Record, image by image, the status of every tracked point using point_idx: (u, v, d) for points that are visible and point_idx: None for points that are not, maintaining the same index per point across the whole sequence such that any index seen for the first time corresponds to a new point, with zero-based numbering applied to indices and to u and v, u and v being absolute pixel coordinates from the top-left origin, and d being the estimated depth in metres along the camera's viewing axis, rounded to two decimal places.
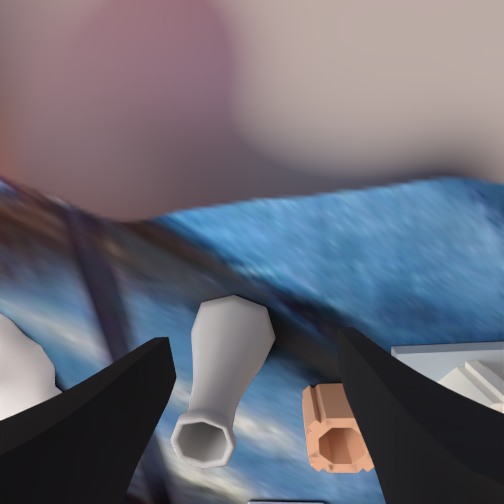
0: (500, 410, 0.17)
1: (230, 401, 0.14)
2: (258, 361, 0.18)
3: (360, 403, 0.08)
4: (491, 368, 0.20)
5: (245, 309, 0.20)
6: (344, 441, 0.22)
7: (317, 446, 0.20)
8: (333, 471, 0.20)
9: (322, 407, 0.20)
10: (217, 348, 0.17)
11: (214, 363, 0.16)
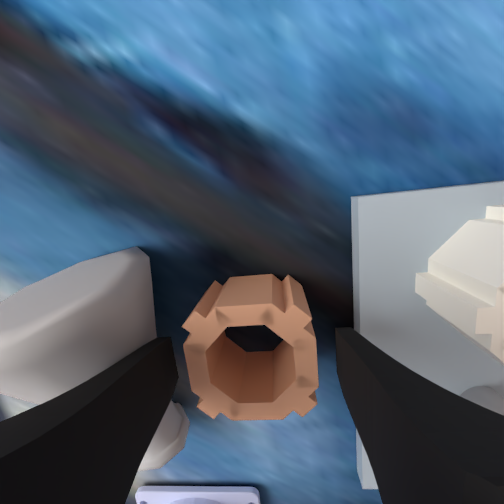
0: None
1: (165, 417, 0.13)
2: (154, 333, 0.12)
3: (357, 403, 0.08)
4: None
5: (76, 344, 0.08)
6: (271, 371, 0.12)
7: (205, 367, 0.10)
8: (240, 419, 0.11)
9: (219, 298, 0.11)
10: None
11: None
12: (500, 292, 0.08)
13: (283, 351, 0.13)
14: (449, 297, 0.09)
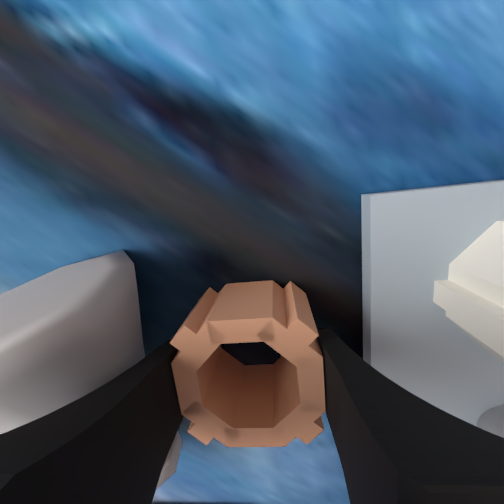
0: None
1: None
2: (141, 347, 0.10)
3: (331, 403, 0.08)
4: None
5: (43, 369, 0.07)
6: (271, 388, 0.11)
7: (196, 389, 0.09)
8: (237, 445, 0.10)
9: (212, 309, 0.10)
10: None
11: None
12: None
13: (285, 366, 0.11)
14: (478, 311, 0.08)
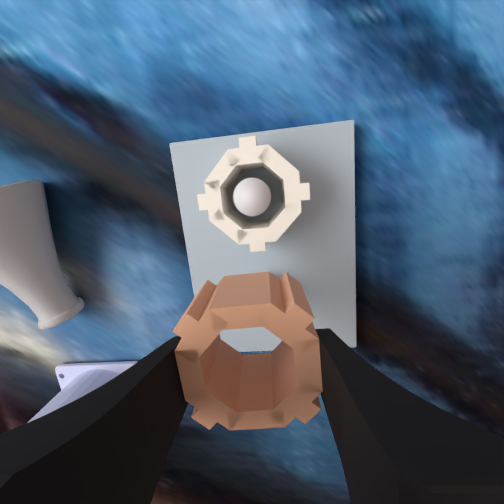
0: (237, 158, 0.14)
1: (59, 294, 0.19)
2: (47, 233, 0.18)
3: (331, 403, 0.08)
4: None
5: None
6: (270, 375, 0.12)
7: (199, 375, 0.09)
8: (239, 428, 0.10)
9: (212, 298, 0.10)
10: (4, 272, 0.17)
11: (19, 284, 0.17)
12: (206, 184, 0.14)
13: (282, 353, 0.12)
14: None
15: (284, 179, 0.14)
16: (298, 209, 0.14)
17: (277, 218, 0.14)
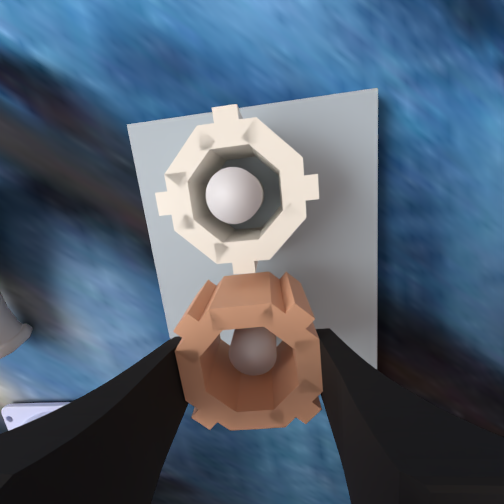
0: (211, 139, 0.09)
1: None
2: None
3: (331, 404, 0.08)
4: None
5: None
6: (270, 375, 0.12)
7: (199, 375, 0.09)
8: (239, 429, 0.10)
9: (213, 298, 0.10)
10: None
11: None
12: (168, 178, 0.10)
13: (282, 353, 0.12)
14: None
15: (281, 169, 0.09)
16: (302, 213, 0.10)
17: (271, 226, 0.10)
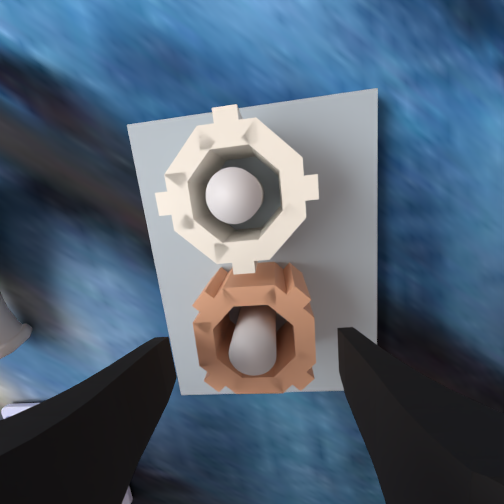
0: (211, 140, 0.09)
1: None
2: None
3: (360, 403, 0.08)
4: None
5: None
6: None
7: (212, 344, 0.11)
8: (243, 393, 0.12)
9: (225, 281, 0.12)
10: None
11: None
12: (167, 178, 0.10)
13: (283, 333, 0.14)
14: None
15: (281, 169, 0.09)
16: (301, 213, 0.10)
17: (271, 226, 0.10)
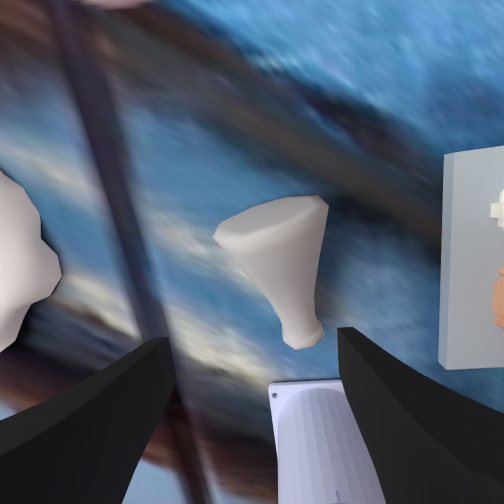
0: None
1: (313, 312, 0.18)
2: None
3: (360, 403, 0.08)
4: None
5: (308, 234, 0.14)
6: None
7: None
8: None
9: None
10: (293, 292, 0.16)
11: (296, 304, 0.17)
12: None
13: None
14: None
15: None
16: None
17: None
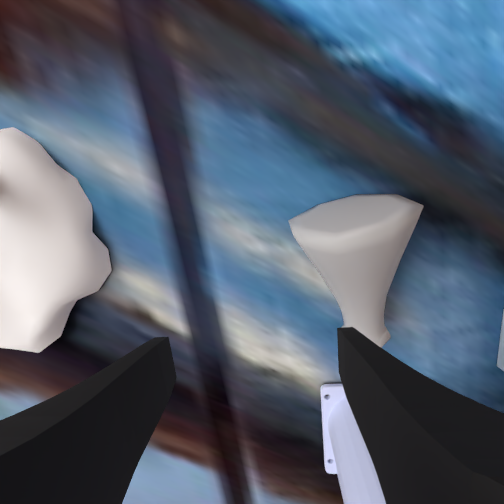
0: None
1: (381, 314, 0.18)
2: None
3: (360, 403, 0.08)
4: None
5: (402, 235, 0.13)
6: None
7: None
8: None
9: None
10: (371, 293, 0.16)
11: (371, 305, 0.16)
12: None
13: None
14: None
15: None
16: None
17: None
